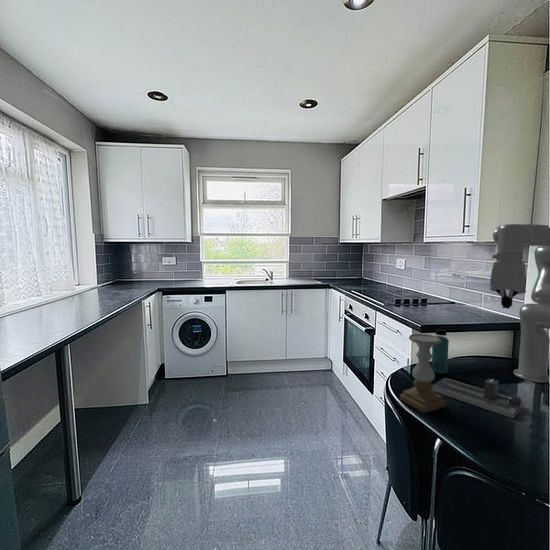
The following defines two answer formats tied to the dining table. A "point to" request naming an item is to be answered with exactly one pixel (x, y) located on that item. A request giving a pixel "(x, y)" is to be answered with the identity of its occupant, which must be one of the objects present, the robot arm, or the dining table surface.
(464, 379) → the dining table surface
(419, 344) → the candle holder
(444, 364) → the beverage bottle
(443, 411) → the dining table surface
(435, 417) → the dining table surface
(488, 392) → the fader tab
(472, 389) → the console
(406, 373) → the dining table surface
